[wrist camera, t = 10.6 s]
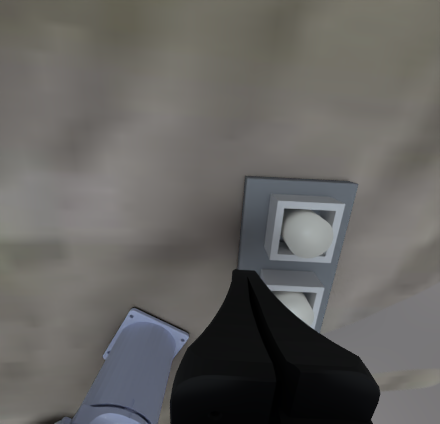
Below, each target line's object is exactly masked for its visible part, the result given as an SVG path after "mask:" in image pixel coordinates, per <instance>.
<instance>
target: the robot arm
mask: <svg viewBox="0 0 440 424" xmlns="http://www.w3.org/2000/svg"><path fill="white" fill-rule="evenodd" d="M188 338H189V334H188V333H187V332H185V331H182V330H180V329H178V328H176V327H174V326H172V325H170V324H168V323H166V322H163V321H161V320H159V319H157V318H155V317H153V316H151V315H149V314H147V313H144V312H142V311H140V310H138V309H136V308H132V309H131V310H130V311H129V313H128V315H127V316H126V318H125V320H124V321H123V323H122V325H121V326H120V328H119V330H118V331H117V333H116V335H115V336H114V338H113V340H112V341H111V343H110V345H109V346H108V348H107V350H106V351H105V353H104V355H103V358H104V359H105V362H104V364H103V366H102V368H101V369H100V371H99V373H98V375H97V377H96V379H95V380H94V382H93V384H92V386H91V388H90V390H89V391H88V393H87V395H86V397H85V399H84V401H83V402H82V404H81V406H80V408H79V410H78V411H77V413H76V414H75V416H74V417H73V419H72V420H71V418H69V417H63V419H62V420H61V421H58V422H56V423H54V424H158V420H159V415H160V411H161V407H162V403H163V398H164V394H165V390H166V386H167V381H168V377H169V373H170V369H171V364H172V360H173V358H174V357H175V356H176V354H177V353H178V352H179V351H180V349H181V348H182V347H183V345H184V344H185V343H186V341H187V340H188ZM379 397H380V389H379V386H378V385H377V383H376V381H375V380H374V378H373V377H372V375H371V373H370V372H369V370H368V369H367V368H366V366H365V364H364V363H363V362H362V360H361V359H360V358H359V356H357V355H355V354H353V353H352V352H350V351H348V350H346V349H344V348H342V347H341V346H339V345H337V344H335V343H334V342H332V341H331V340H329V339H327V338H326V337H324V336H323V335H321V334H320V333H318V332H317V331H315V330H314V329H313V328H311V327H310V326H309V325H307V324H306V323H305V322H303V321H302V320H301V319H300V318H298V317H297V316H296V315H295V314H294V313H292V312H291V311H290V310H289V309H288V308H287V307H286V306H285V305H284V304H283V303H282V302H281V301H280V300H279V299H278V298H277V297H276V296H275V295H274V294H273V292H272V291H271V290H270V289H269V288H268V287H267V285H266V284H265V283H264V282H263V280H262V279H261V278H260V276H259V275H258V274H257V272H256V271H255V270H238V269H235V270H233V273H232V282H231V285H230V288H229V291H228V293H227V296H226V298H225V300H224V302H223V304H222V306H221V308H220V309H219V311H218V313H217V314H216V316H215V317H214V319H213V320H212V322H211V323H210V324H209V326H208V327H207V328H206V329H205V330H204V332H203V333H202V334H201V335H200V336H199V337H198V338H197V339H196V340H195V341H194V342H193V343H192V344H191V345H190V346H189V347H188V349H187V351H186V353H185V355H184V357H183V359H182V361H181V363H180V365H179V368H178V370H177V373H176V376H175V379H174V383H173V388H172V393H171V399H170V423H171V424H373V423H372V421H371V418H372V416H373V413H374V411H375V409H376V407H377V404H378V401H379Z"/></svg>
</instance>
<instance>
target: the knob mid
mask: <svg viewBox="0 0 440 424" xmlns="http://www.w3.org/2000/svg"><path fill="white" fill-rule="evenodd" d="M272 292H273V294H274V295H275V296H276V297H277V298H278V299H279V300H280V301H281V302H282V303H283V304H284V305H285V306H286V307H287V308H288V309H289V310H290V311H291V312H292V313H294V314H295V315H296V316H297V317H298V318H300V319H301V320H302V321H303V322H305V323H306V324H307V325H309V326H310V325H311V324H312V323H313V320H314V312H313V310H312V308H311V306H310V304H309V303H308V301H307V299H306V297H305V295H304V293H303V292H292V291H272Z"/></svg>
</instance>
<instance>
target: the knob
mask: <svg viewBox="0 0 440 424" xmlns="http://www.w3.org/2000/svg"><path fill="white" fill-rule="evenodd" d="M280 235H281V236H282V238H283V239H284V241H285V243H286V244H287V246H288V247H289V249H290V250H291V251H292V253H294V254H295V255H296V256H298V257H301V258H314V257H317V256H319V255H321V254H323V253H324V252H325V251H327V250H328V248H329V247H330V245H331V244H332V241H333V229H332V227H331V225H330V224H329V223H328V222H327V221H326V220H324V219H323V218H321V217H320V216H319V215H317V214H316V213H315V212H313V211H312V210H308V209H289V208H285V209H284V214H283V220H282V227H281V234H280Z"/></svg>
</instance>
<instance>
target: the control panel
mask: <svg viewBox="0 0 440 424" xmlns="http://www.w3.org/2000/svg"><path fill="white" fill-rule="evenodd" d="M357 188H358V184H357V183H353V182H350V181H336V180H316V179H296V178H276V177H257V176H245V186H244V198H243V209H242V221H241V232H240V244H239V255H238V267H237V269H238V270H255V271H256V272H257V274H258V275H259V276H260V278H261V279H262V280H263V282H264V283H265V284H266V285H267V287H268V288H269V289H270V290H271V291H292V292H303V293H304V295H305V297H306V299H307V301H308V303H309V304H310V306H311V308H312V310H313V312H314V320H313V323H312V324H311V325H310V327H311V328H313V329H314V330H315V331H317V332H318V333H320V330H321V326H322V322H323V318H324V314H325V310H326V307H327V303H328V299H329V295H330V291H331V287H332V284H333V280H334V276H335V272H336V268H337V264H338V260H339V257H340V253H341V249H342V245H343V241H344V237H345V234H346V230H347V226H348V222H349V218H350V214H351V211H352V207H353V203H354V199H355V195H356V191H357ZM285 208H289V209H308V210H312V211H313V212H315V213H316V214H317V215H319V216H320V217H321V218H323V219H324V220H326V221H327V222H328V223H329V224H330V225H331V227H332V229H333V241H332V244H331V245H330V247H329V248H328V250H327V251H325V252H324V253H323V254H321V255H319V256H317V257H314V258H301V257H298V256H296V255H295V254H294V253H292V251H291V250H290V249H289V247H288V246H287V244H286V243H285V241H284V239H283V238H282V236H281V235H280V234H281V227H282V220H283V214H284V209H285Z"/></svg>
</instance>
